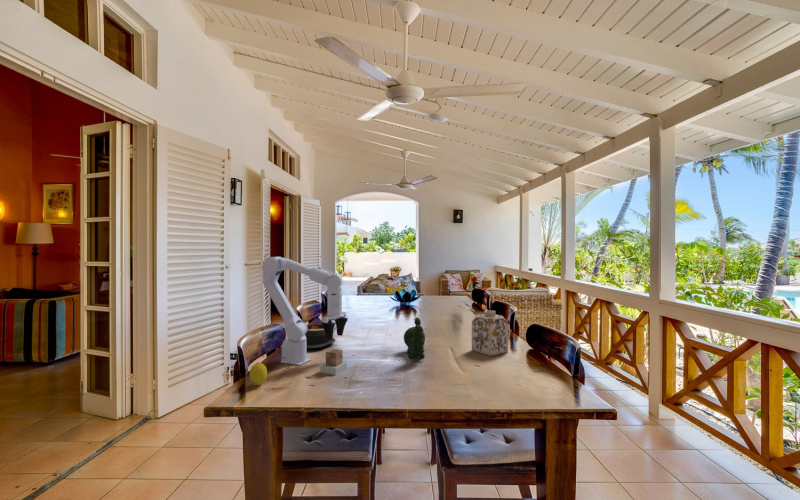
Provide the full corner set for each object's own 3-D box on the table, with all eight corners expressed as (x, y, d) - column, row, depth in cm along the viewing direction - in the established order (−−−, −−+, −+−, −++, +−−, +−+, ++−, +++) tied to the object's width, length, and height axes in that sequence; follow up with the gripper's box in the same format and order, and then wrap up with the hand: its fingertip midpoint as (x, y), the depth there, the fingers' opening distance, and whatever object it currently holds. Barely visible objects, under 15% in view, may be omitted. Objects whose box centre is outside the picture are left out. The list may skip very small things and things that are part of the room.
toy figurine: (430, 367, 156) (422, 345, 180) (430, 321, 154) (423, 305, 178) (406, 368, 155) (402, 346, 180) (407, 321, 153) (402, 306, 178)
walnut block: (325, 365, 145) (325, 351, 145) (332, 361, 149) (332, 348, 149) (336, 366, 143) (336, 353, 143) (342, 363, 148) (342, 350, 148)
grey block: (320, 373, 145) (320, 365, 145) (331, 368, 151) (331, 360, 151) (335, 376, 142) (335, 368, 142) (346, 370, 148) (346, 362, 148)
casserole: (303, 338, 197) (303, 321, 197) (340, 338, 197) (340, 322, 197) (287, 352, 172) (287, 333, 172) (329, 352, 172) (329, 333, 172)
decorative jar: (509, 352, 171) (509, 311, 171) (490, 356, 165) (490, 314, 165) (488, 346, 181) (488, 308, 181) (470, 350, 175) (470, 310, 174)
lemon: (250, 389, 128) (250, 365, 127) (248, 384, 132) (248, 361, 132) (268, 387, 130) (268, 363, 130) (265, 381, 135) (265, 358, 135)
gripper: (333, 307, 149) (333, 342, 150) (352, 302, 163) (352, 334, 163) (317, 306, 152) (318, 340, 152) (338, 301, 166) (338, 332, 166)
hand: (334, 337), depth 158 cm, fingers open, 7 cm apart
